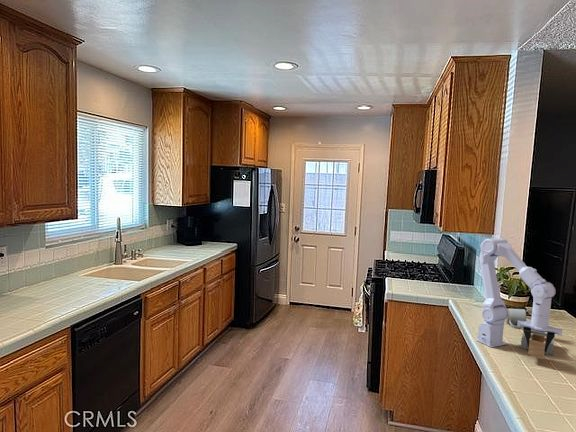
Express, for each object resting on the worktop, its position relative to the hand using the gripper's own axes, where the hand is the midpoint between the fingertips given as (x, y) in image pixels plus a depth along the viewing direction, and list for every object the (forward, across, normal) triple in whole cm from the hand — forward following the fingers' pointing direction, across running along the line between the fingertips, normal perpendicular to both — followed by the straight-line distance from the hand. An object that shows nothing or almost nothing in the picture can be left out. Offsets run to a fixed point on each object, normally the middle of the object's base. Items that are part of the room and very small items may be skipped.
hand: (536, 348), depth 158 cm
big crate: (+4, 0, +16) cm, 17 cm away
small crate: (+2, 0, 0) cm, 2 cm away
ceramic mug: (+5, -10, +40) cm, 42 cm away
